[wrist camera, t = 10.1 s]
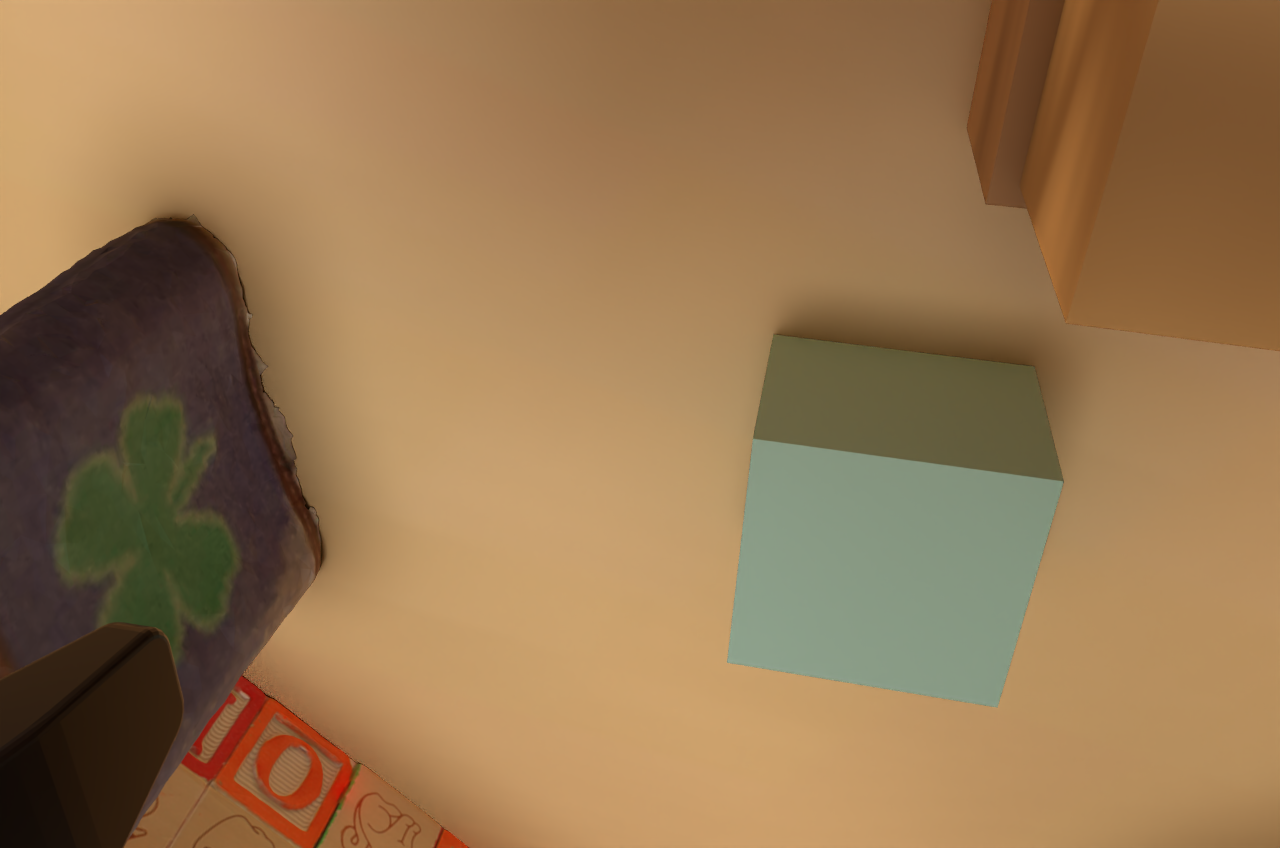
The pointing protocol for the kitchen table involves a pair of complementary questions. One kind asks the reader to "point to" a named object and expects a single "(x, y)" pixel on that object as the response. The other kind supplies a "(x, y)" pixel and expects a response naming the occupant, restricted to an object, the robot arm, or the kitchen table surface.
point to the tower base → (893, 518)
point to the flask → (147, 468)
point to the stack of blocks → (278, 790)
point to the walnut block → (1010, 93)
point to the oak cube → (1162, 168)
